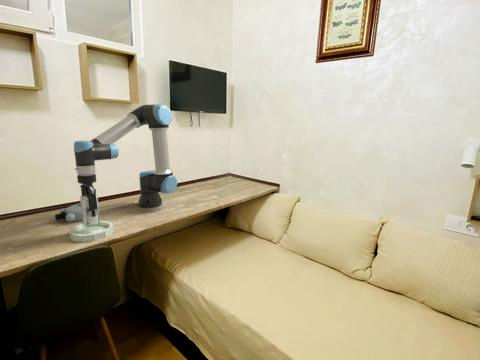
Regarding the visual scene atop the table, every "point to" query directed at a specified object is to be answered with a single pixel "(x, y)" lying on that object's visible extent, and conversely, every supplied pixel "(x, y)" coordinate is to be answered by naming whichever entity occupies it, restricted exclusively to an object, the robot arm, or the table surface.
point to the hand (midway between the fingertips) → (91, 220)
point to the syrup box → (86, 213)
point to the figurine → (70, 213)
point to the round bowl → (91, 232)
